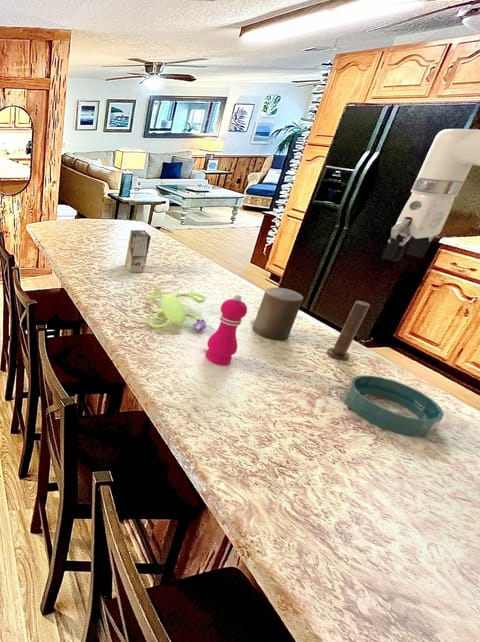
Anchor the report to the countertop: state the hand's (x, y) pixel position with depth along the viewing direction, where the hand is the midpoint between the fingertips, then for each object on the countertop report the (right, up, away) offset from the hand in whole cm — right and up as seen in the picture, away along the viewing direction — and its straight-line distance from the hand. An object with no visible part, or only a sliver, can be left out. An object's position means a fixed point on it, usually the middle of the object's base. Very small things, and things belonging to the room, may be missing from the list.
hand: (402, 257), depth 96 cm
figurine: (-40, -16, +36) cm, 57 cm away
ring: (-12, -38, -7) cm, 40 cm away
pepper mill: (-39, -27, +13) cm, 49 cm away
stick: (-2, -27, +16) cm, 31 cm away
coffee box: (-41, +3, +74) cm, 85 cm away
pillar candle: (-14, -21, +27) cm, 37 cm away
